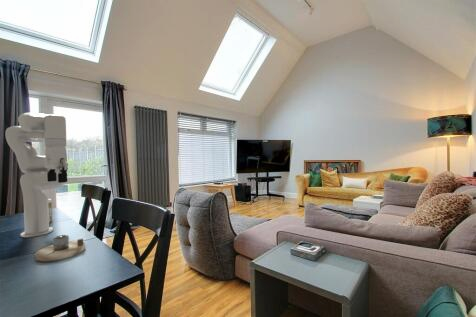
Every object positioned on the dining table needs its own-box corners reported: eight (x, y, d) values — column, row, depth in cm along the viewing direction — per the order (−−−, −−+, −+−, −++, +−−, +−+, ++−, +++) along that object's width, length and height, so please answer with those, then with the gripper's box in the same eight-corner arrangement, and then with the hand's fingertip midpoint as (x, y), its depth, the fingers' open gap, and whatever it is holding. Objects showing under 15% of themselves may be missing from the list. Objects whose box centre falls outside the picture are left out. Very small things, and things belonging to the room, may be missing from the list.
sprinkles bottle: (53, 220, 141) (52, 198, 140) (51, 222, 137) (50, 199, 136) (44, 221, 139) (43, 199, 138) (41, 223, 135) (40, 200, 134)
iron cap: (50, 249, 92) (50, 237, 92) (65, 244, 97) (64, 233, 96) (57, 251, 90) (56, 239, 90) (71, 247, 94) (70, 235, 94)
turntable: (60, 243, 102) (59, 234, 102) (93, 244, 100) (93, 235, 100) (23, 260, 86) (23, 250, 86) (63, 261, 85) (62, 251, 84)
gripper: (36, 143, 102) (38, 181, 102) (55, 142, 93) (56, 184, 94) (56, 144, 108) (57, 180, 109) (75, 142, 100) (77, 181, 100)
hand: (57, 181), depth 101 cm, fingers open, 9 cm apart
